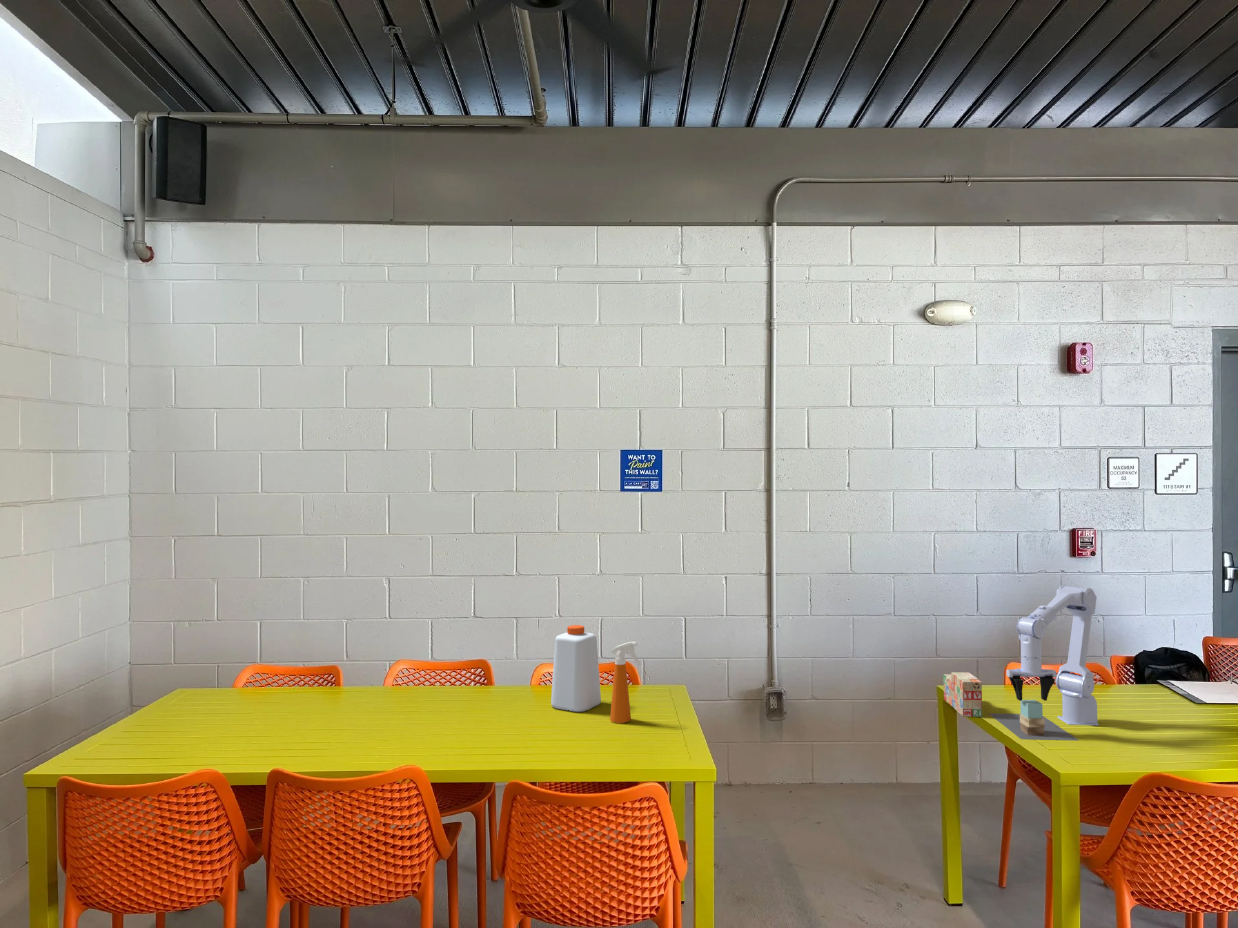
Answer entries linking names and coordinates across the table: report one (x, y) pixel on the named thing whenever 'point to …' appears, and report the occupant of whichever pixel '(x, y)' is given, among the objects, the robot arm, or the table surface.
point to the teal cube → (1031, 709)
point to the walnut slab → (1032, 730)
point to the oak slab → (1032, 722)
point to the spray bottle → (621, 684)
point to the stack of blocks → (963, 693)
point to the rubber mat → (1049, 734)
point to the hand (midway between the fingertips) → (1031, 699)
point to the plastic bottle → (575, 671)
